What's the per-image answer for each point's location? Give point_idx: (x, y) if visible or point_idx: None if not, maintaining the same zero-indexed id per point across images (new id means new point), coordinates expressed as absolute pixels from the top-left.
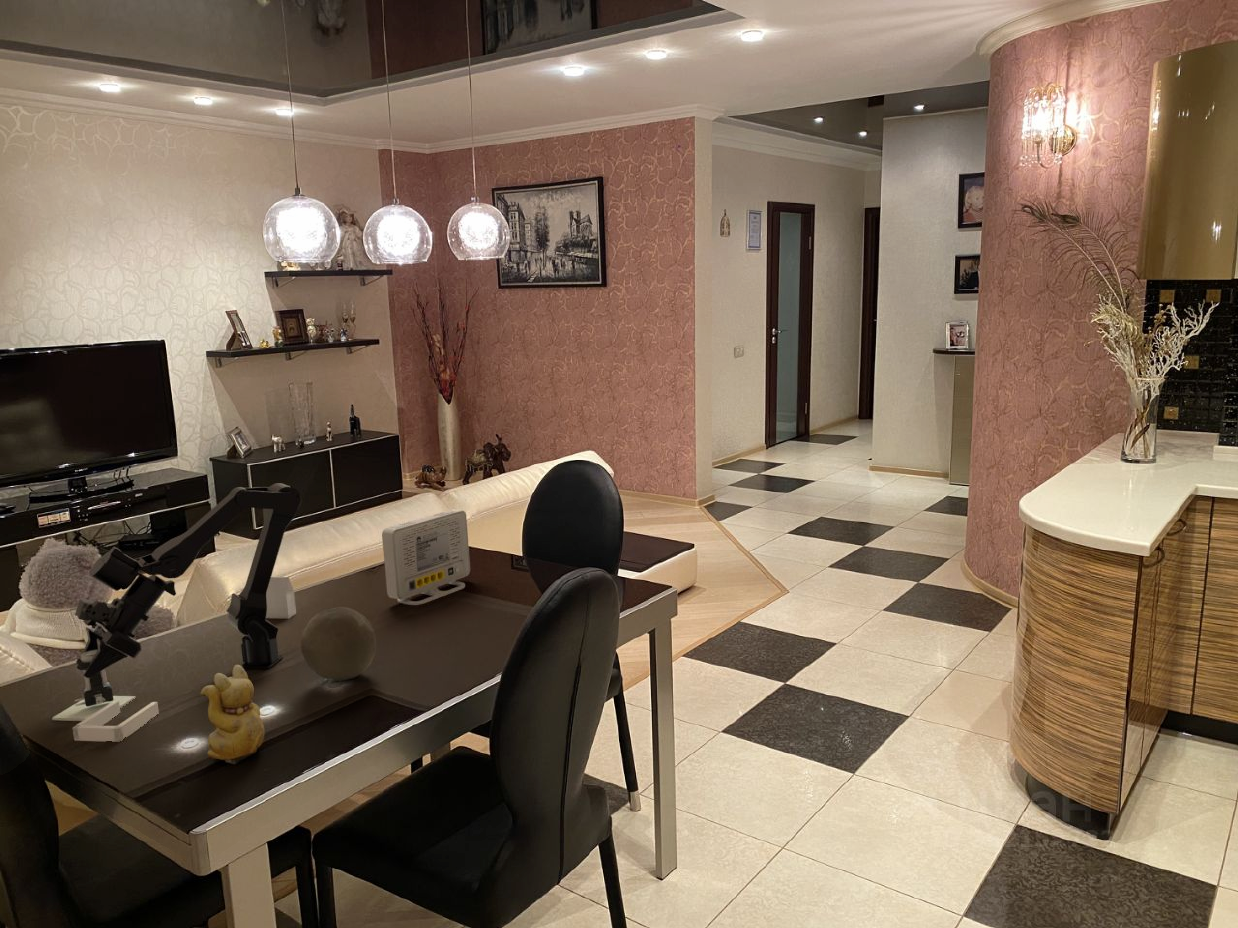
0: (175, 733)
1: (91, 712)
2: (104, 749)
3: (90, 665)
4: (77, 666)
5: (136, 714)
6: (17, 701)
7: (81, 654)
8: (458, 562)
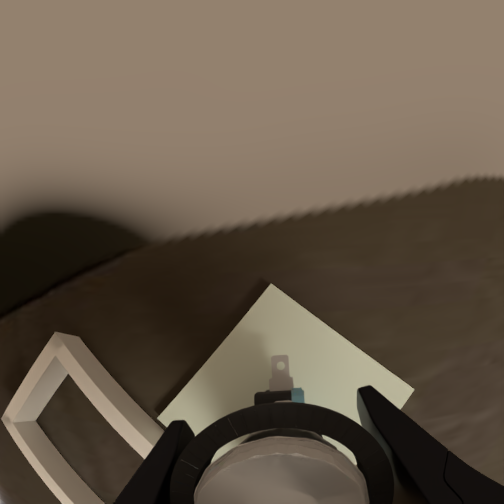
0: (19, 500)
1: (236, 401)
2: (11, 382)
3: (135, 472)
4: (366, 390)
5: (49, 481)
6: (474, 189)
7: (307, 456)
8: None
